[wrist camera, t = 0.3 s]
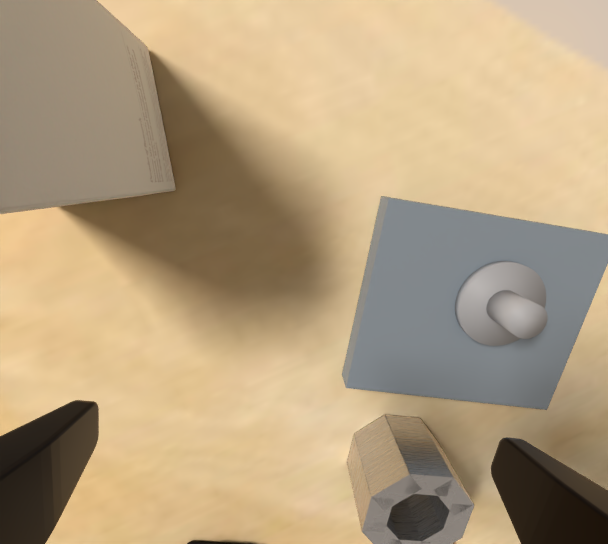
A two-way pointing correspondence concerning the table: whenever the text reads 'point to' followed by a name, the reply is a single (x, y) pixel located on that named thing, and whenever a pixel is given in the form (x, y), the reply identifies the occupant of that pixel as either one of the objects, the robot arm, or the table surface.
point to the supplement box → (76, 108)
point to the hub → (406, 484)
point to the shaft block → (470, 304)
